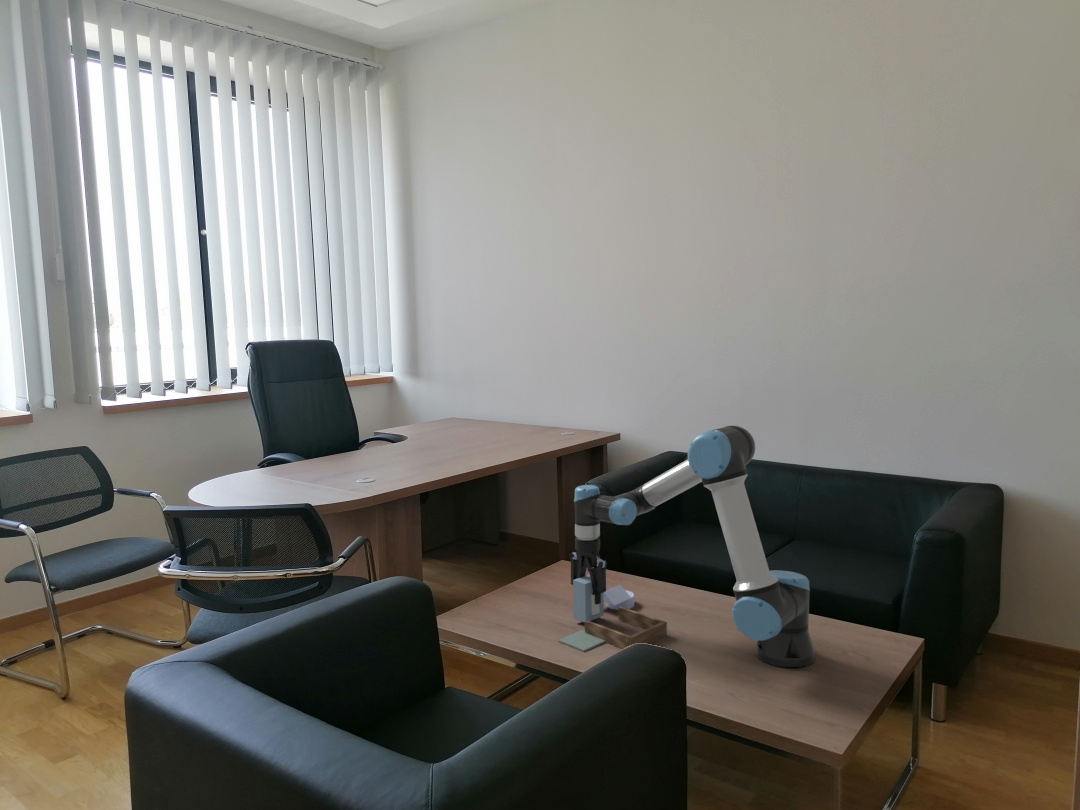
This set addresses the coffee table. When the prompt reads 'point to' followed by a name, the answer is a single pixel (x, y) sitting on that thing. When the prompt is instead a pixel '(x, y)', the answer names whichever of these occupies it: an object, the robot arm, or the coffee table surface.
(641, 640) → the shelf bay
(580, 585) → the block
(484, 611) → the coffee table surface
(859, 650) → the coffee table surface
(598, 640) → the felt pad
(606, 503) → the robot arm
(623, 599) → the wedge on round base
